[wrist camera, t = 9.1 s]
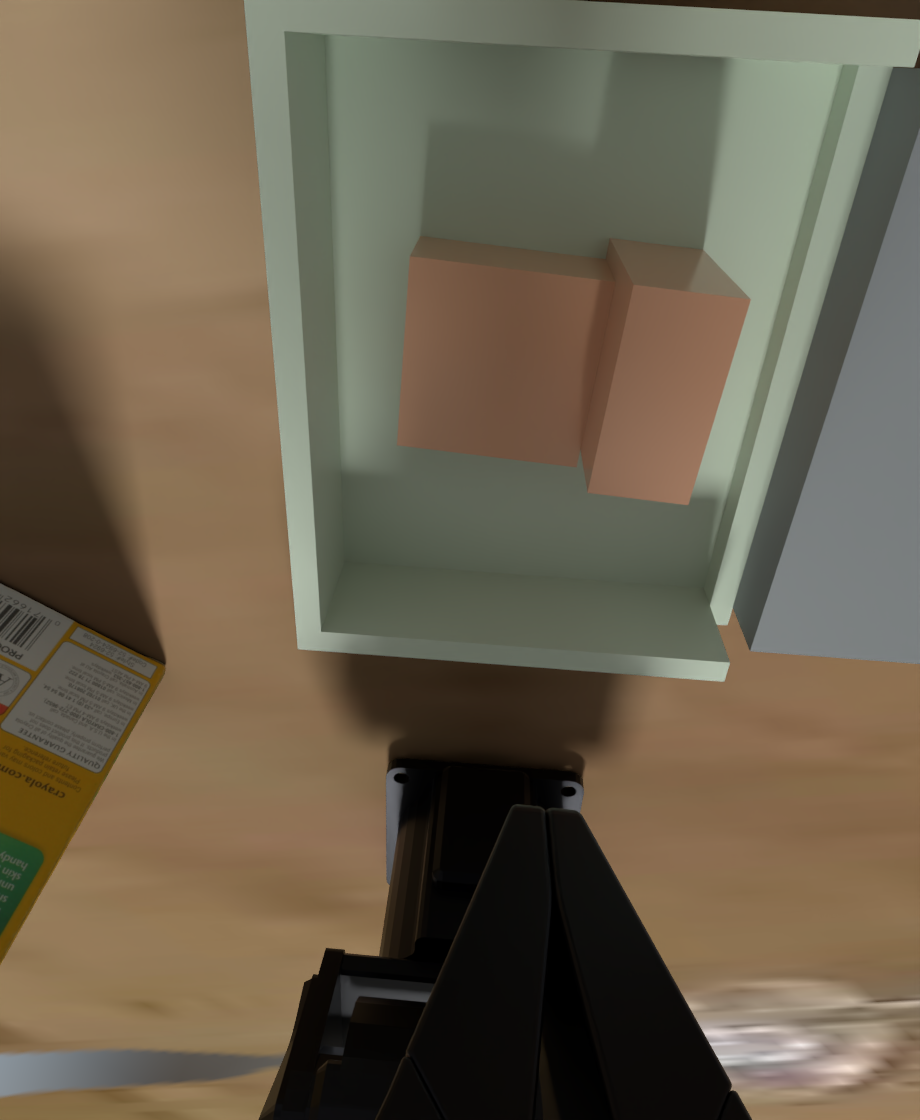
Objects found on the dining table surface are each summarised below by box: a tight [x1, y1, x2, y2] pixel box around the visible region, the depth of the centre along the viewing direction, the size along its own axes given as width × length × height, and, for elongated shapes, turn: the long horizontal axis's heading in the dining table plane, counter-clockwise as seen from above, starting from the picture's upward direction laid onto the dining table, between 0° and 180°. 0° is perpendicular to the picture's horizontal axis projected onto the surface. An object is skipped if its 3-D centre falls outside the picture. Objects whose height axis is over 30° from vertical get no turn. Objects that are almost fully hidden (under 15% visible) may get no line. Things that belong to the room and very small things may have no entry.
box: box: [244, 0, 920, 682], centre depth 17 cm, size 13×11×4 cm
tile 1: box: [580, 238, 751, 505], centre depth 16 cm, size 4×4×2 cm
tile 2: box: [397, 236, 615, 467], centre depth 17 cm, size 4×4×2 cm
